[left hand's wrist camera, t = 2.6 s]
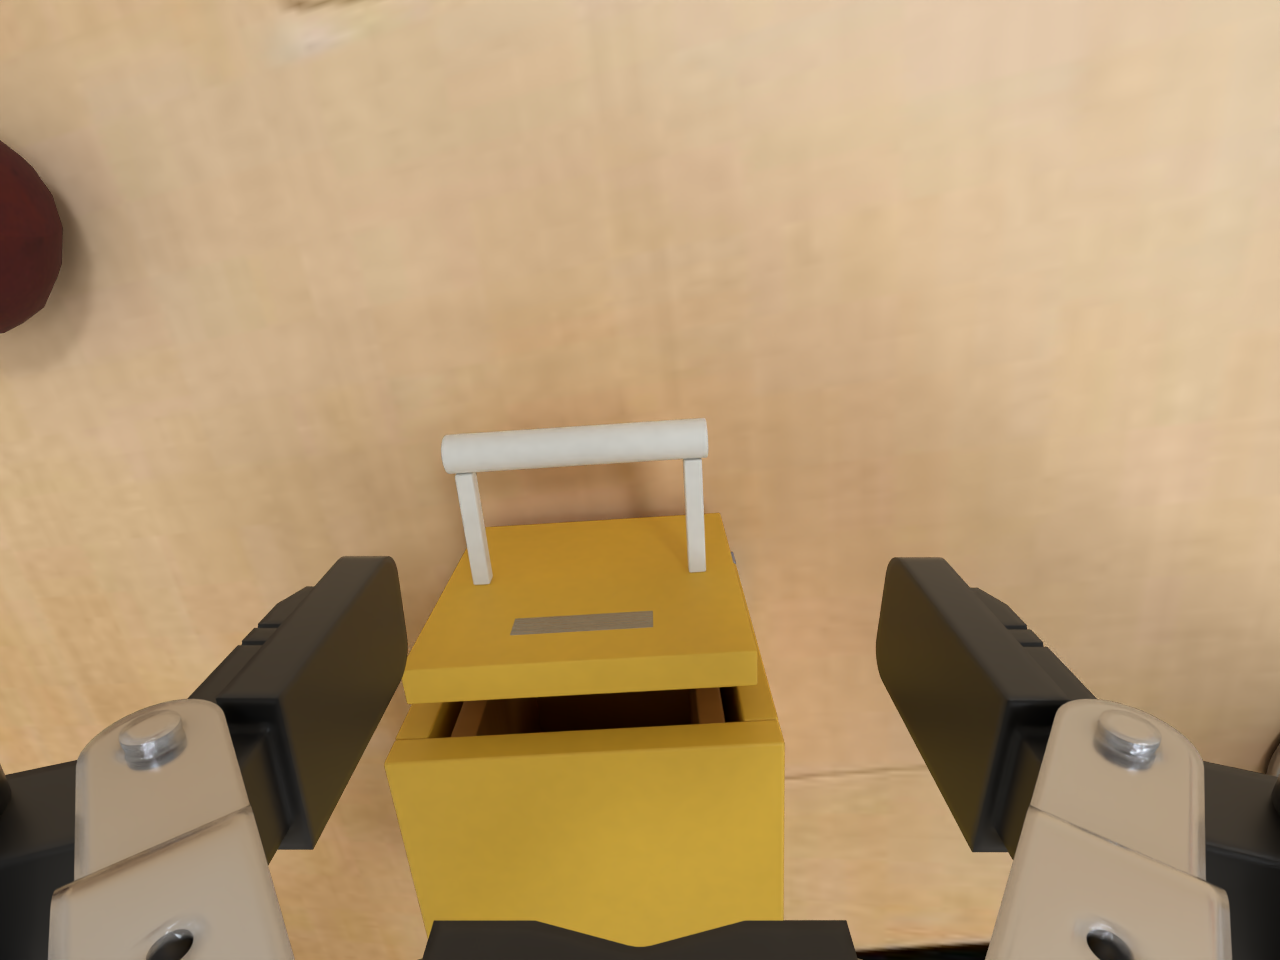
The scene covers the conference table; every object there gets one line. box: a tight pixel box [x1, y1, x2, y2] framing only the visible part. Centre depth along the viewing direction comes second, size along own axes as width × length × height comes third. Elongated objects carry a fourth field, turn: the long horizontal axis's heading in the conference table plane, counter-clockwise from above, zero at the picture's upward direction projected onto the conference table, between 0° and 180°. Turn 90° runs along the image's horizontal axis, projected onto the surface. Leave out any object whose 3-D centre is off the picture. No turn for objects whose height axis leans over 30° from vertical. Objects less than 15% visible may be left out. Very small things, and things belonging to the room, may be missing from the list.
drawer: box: [402, 418, 757, 737], centre depth 26 cm, size 23×10×10 cm, turn 4°
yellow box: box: [384, 552, 785, 947], centre depth 28 cm, size 19×12×12 cm, turn 4°
